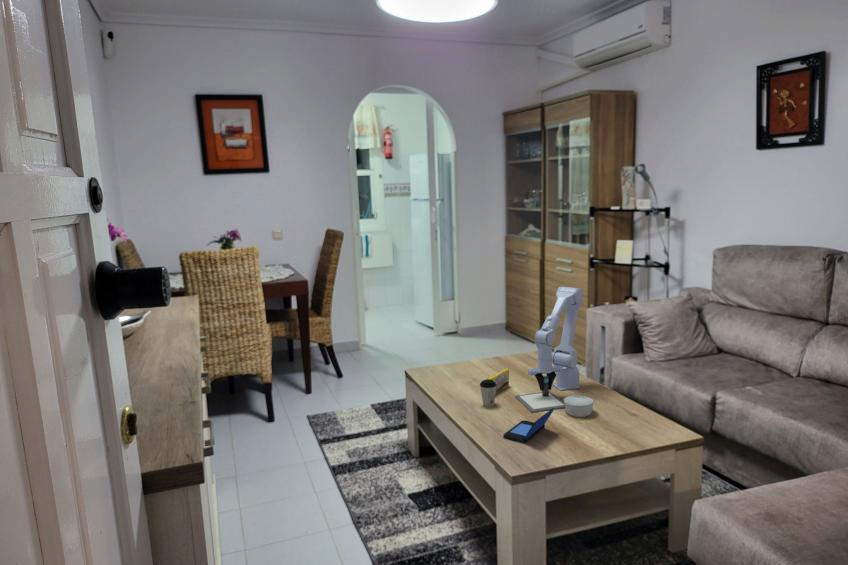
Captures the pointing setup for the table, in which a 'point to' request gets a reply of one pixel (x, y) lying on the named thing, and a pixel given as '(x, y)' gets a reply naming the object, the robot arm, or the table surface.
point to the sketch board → (540, 402)
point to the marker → (546, 386)
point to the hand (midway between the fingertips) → (545, 389)
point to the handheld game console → (527, 429)
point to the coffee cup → (488, 392)
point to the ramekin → (578, 405)
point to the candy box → (501, 380)
